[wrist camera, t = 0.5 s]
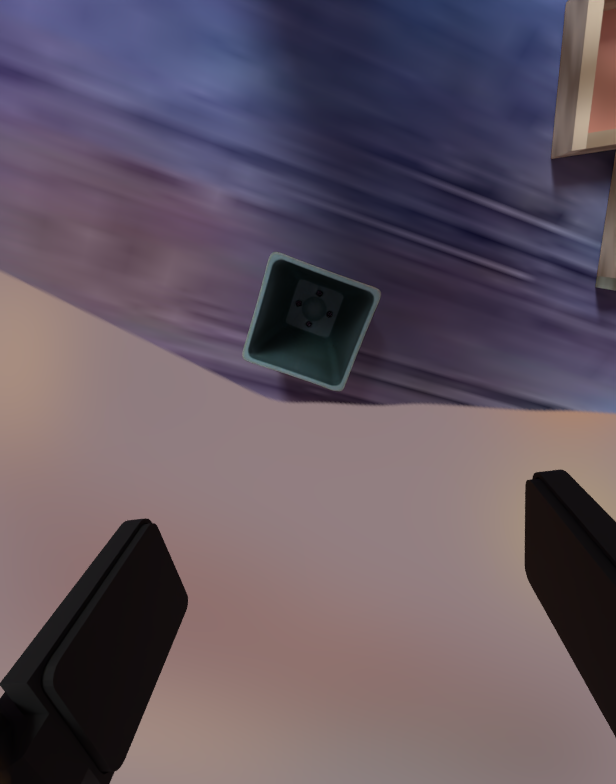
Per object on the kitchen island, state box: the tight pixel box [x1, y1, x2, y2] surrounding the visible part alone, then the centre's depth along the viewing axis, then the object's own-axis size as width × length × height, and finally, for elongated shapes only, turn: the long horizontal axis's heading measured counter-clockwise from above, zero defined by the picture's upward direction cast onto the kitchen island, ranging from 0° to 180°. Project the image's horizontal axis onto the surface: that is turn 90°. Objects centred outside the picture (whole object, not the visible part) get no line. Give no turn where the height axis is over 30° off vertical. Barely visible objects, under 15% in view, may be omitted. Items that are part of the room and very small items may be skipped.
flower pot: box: [242, 252, 381, 391], centre depth 33 cm, size 9×9×9 cm
